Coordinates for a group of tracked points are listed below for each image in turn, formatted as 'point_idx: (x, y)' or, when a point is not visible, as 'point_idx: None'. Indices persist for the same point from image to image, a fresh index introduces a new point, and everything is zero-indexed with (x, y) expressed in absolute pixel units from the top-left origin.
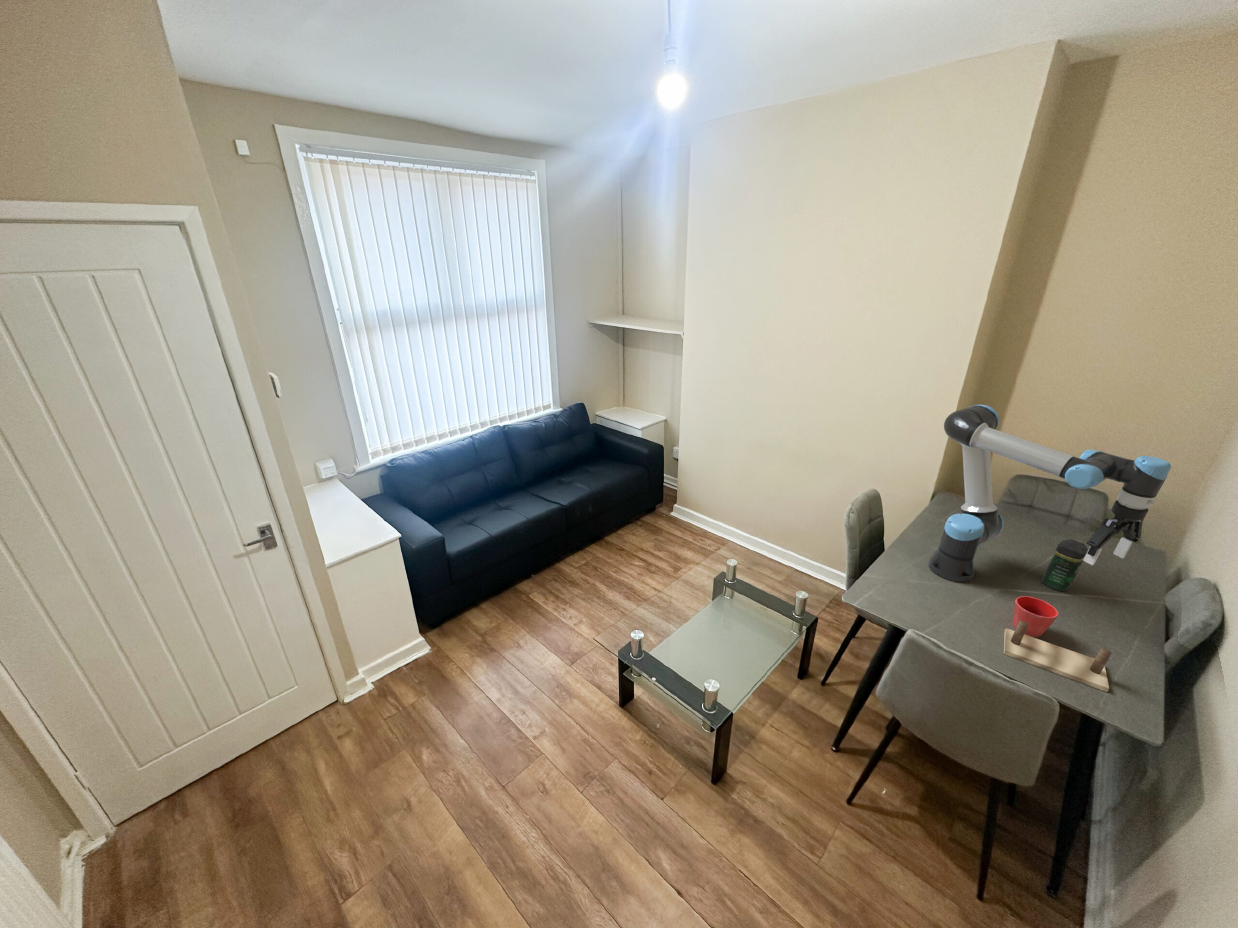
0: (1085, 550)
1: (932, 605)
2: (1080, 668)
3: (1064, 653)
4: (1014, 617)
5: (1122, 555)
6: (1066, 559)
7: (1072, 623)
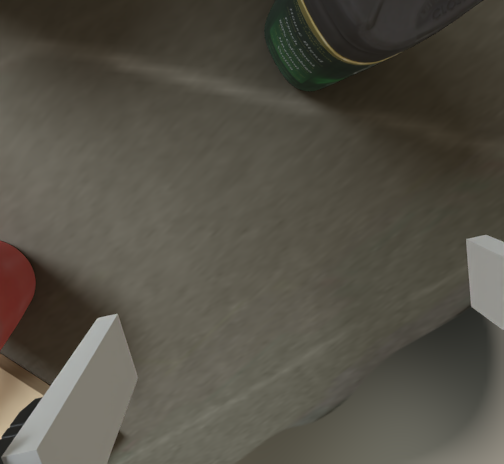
0: (459, 4)
1: None
2: None
3: (14, 406)
4: None
5: (486, 309)
6: (309, 26)
7: (182, 263)
